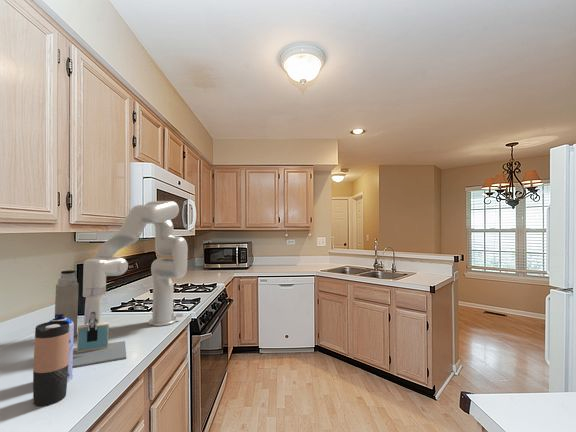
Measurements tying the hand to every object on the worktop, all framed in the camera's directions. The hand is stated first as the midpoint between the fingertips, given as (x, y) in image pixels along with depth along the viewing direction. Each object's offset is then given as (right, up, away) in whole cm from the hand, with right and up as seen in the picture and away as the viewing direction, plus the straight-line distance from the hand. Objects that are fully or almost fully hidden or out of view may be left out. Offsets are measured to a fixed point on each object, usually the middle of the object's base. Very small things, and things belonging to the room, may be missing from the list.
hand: (93, 337), depth 119 cm
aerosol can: (+4, -4, -23) cm, 24 cm away
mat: (+2, -5, -5) cm, 7 cm away
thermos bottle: (-21, -6, +15) cm, 26 cm away
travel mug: (+9, -4, -34) cm, 35 cm away
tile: (0, -4, 0) cm, 4 cm away
